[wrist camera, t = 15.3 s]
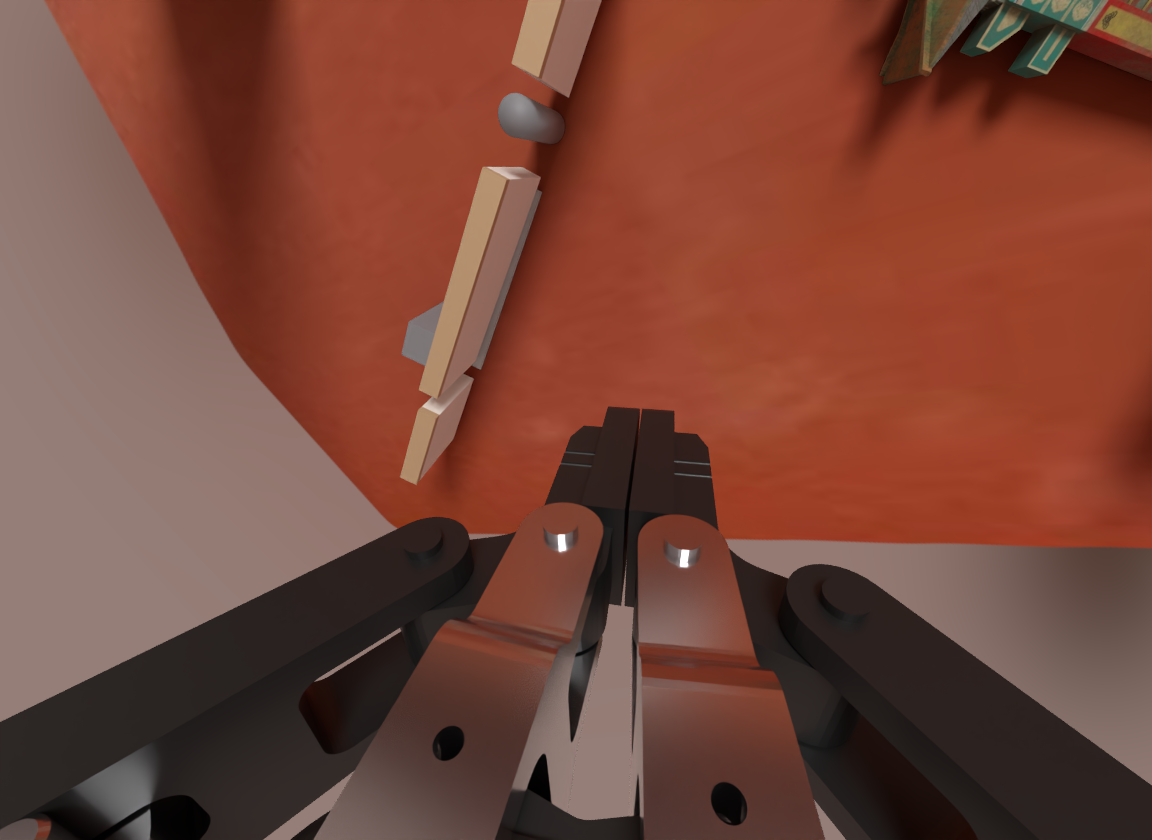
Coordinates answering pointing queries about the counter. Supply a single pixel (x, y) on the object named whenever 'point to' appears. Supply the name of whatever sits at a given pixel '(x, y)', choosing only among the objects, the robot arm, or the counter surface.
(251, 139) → the counter surface
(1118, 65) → the miniature gate
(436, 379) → the white flat block
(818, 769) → the robot arm
